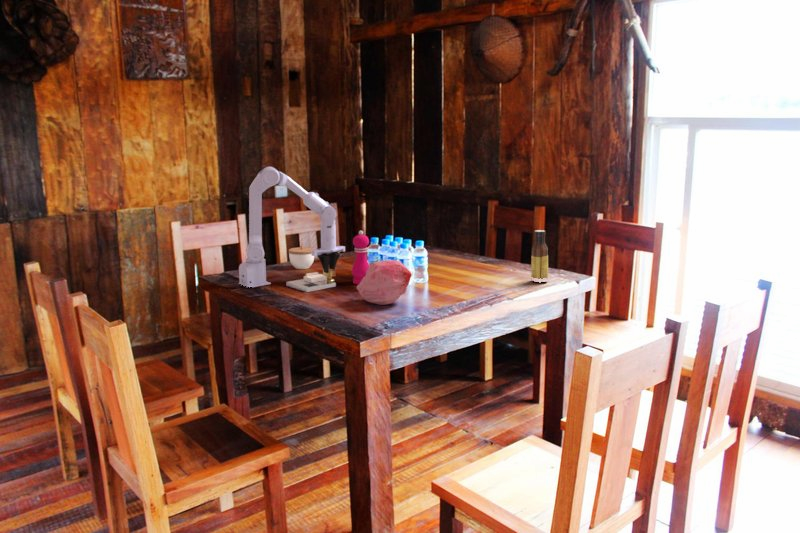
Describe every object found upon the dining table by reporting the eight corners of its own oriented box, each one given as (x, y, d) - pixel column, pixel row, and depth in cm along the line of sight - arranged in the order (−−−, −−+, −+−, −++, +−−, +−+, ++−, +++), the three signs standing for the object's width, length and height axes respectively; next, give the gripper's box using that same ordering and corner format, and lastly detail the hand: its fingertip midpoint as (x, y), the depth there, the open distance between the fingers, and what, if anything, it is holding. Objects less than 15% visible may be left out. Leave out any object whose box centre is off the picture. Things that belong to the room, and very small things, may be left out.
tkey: (320, 280, 264) (320, 268, 263) (328, 278, 266) (328, 266, 265) (330, 282, 259) (329, 270, 258) (338, 281, 262) (337, 269, 261)
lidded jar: (292, 271, 280) (291, 248, 278) (286, 266, 289) (285, 244, 287) (318, 269, 283) (317, 246, 282) (311, 264, 293) (310, 242, 291)
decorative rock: (419, 282, 236) (395, 246, 235) (420, 288, 222) (394, 249, 221) (374, 312, 238) (349, 276, 236) (372, 319, 223) (346, 281, 222)
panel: (306, 292, 245) (306, 288, 244) (286, 285, 254) (286, 281, 254) (335, 286, 253) (335, 282, 253) (315, 280, 263) (315, 276, 262)
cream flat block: (311, 282, 252) (311, 276, 252) (303, 280, 256) (303, 274, 256) (326, 279, 257) (326, 273, 257) (318, 277, 261) (318, 271, 260)
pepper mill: (368, 285, 255) (367, 232, 251) (349, 284, 257) (348, 231, 253) (372, 281, 262) (372, 229, 258) (354, 280, 264) (354, 228, 260)
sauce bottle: (546, 280, 265) (549, 229, 261) (548, 284, 259) (551, 232, 254) (529, 279, 265) (531, 229, 261) (531, 283, 259) (533, 231, 255)
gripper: (318, 240, 252) (319, 276, 255) (349, 236, 261) (350, 271, 264) (307, 238, 257) (308, 273, 260) (338, 234, 266) (339, 268, 269)
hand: (329, 272), depth 262 cm, fingers closed on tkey, 2 cm apart
